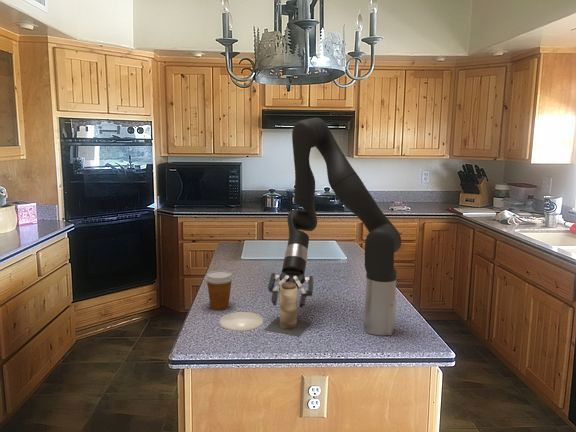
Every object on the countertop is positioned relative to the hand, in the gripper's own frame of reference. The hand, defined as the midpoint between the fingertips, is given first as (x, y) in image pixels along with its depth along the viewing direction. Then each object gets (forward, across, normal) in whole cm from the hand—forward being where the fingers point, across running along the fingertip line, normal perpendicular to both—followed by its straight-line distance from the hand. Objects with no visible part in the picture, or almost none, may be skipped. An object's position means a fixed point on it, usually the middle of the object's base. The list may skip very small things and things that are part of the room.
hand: (287, 305), depth 147 cm
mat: (+5, 0, +6) cm, 8 cm away
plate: (+5, -15, +6) cm, 17 cm away
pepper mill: (+4, 0, +6) cm, 7 cm away
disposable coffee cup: (-3, -27, +15) cm, 31 cm away
